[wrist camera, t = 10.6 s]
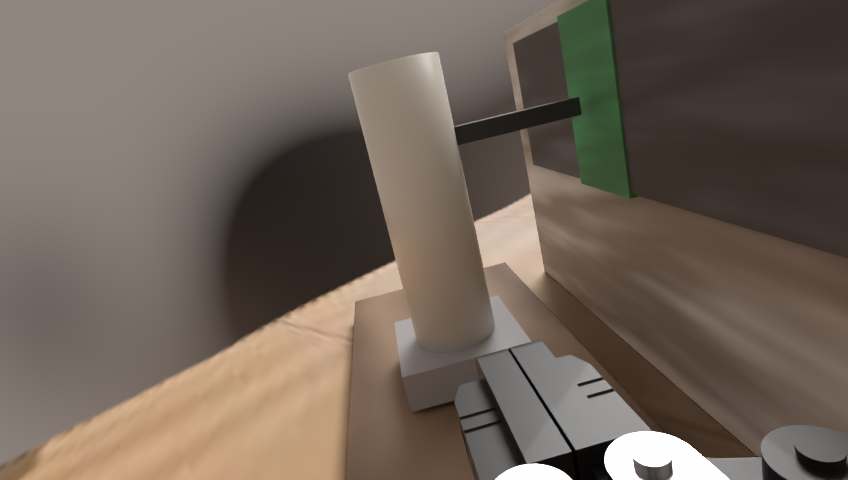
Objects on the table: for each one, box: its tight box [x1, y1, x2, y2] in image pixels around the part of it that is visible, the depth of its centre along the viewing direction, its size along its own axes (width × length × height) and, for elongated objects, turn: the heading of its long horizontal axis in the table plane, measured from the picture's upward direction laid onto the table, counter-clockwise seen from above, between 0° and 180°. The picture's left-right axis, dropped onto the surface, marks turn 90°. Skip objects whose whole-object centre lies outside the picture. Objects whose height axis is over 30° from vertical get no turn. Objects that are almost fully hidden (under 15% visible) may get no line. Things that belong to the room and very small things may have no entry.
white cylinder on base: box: [348, 52, 582, 412], centre depth 23 cm, size 11×6×15 cm, turn 97°
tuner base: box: [346, 0, 848, 480], centre depth 20 cm, size 17×34×18 cm, turn 7°
